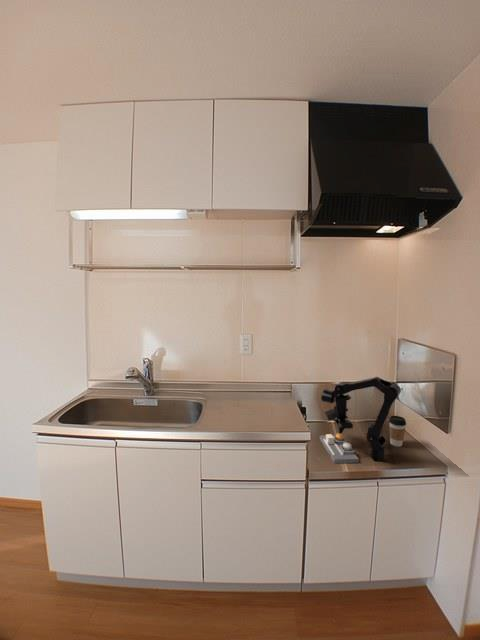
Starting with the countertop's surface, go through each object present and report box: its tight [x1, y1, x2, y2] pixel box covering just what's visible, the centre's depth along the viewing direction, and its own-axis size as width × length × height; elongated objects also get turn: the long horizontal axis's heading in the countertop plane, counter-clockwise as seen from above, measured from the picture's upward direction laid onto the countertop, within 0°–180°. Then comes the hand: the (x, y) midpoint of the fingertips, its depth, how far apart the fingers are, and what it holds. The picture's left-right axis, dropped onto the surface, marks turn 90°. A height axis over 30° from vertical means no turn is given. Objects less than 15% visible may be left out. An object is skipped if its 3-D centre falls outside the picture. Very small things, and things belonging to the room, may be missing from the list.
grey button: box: [343, 441, 352, 450], centre depth 154 cm, size 4×4×2 cm
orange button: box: [335, 432, 345, 440], centre depth 164 cm, size 4×4×2 cm
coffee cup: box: [388, 415, 407, 448], centre depth 165 cm, size 8×8×15 cm
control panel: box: [319, 434, 360, 464], centre depth 160 cm, size 24×12×3 cm, turn 2°
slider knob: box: [325, 433, 334, 444], centre depth 163 cm, size 4×3×4 cm
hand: (340, 433), depth 164 cm, fingers closed
